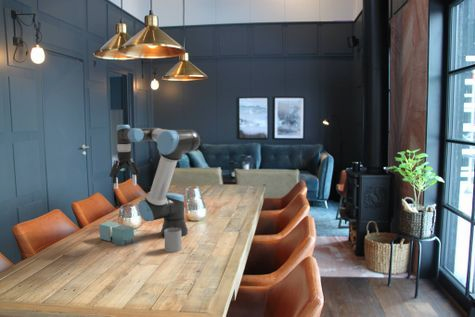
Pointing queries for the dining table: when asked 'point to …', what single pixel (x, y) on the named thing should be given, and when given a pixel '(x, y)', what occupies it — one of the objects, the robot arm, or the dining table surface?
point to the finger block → (107, 230)
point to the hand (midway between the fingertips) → (125, 187)
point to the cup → (173, 240)
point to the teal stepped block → (122, 235)
